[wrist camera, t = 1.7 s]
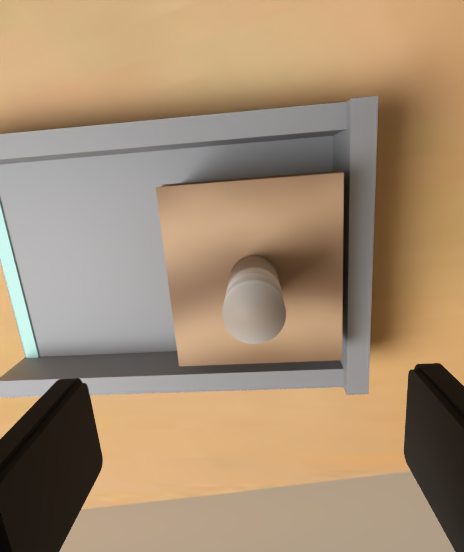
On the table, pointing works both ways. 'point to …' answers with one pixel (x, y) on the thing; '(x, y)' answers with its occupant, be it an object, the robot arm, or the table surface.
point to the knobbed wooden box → (255, 268)
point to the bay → (149, 245)
